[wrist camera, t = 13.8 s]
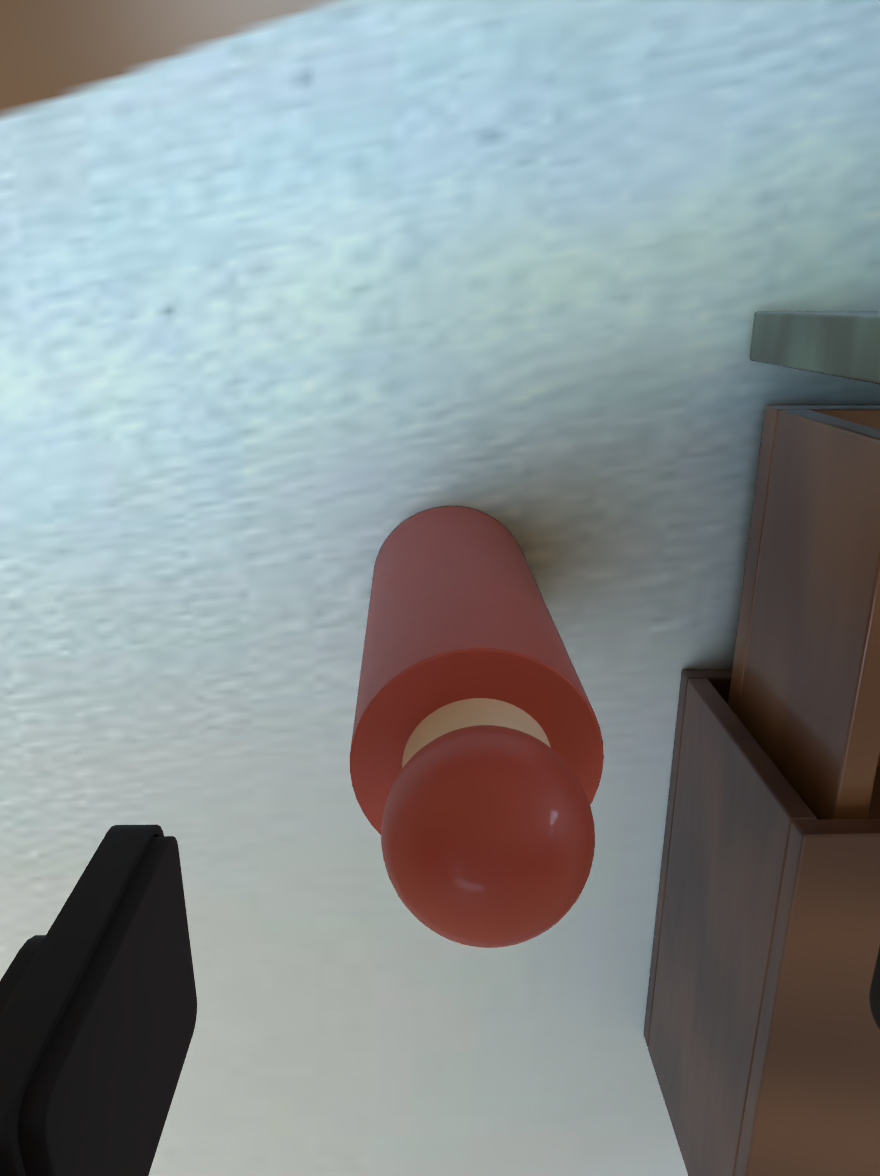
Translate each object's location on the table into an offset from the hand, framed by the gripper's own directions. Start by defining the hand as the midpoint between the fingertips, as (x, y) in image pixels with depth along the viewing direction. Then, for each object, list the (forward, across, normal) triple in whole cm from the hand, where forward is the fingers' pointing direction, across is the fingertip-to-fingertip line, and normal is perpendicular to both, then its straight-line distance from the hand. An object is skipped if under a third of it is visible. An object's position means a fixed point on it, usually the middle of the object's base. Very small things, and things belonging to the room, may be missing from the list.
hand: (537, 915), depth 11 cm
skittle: (+14, +1, 0) cm, 14 cm away
